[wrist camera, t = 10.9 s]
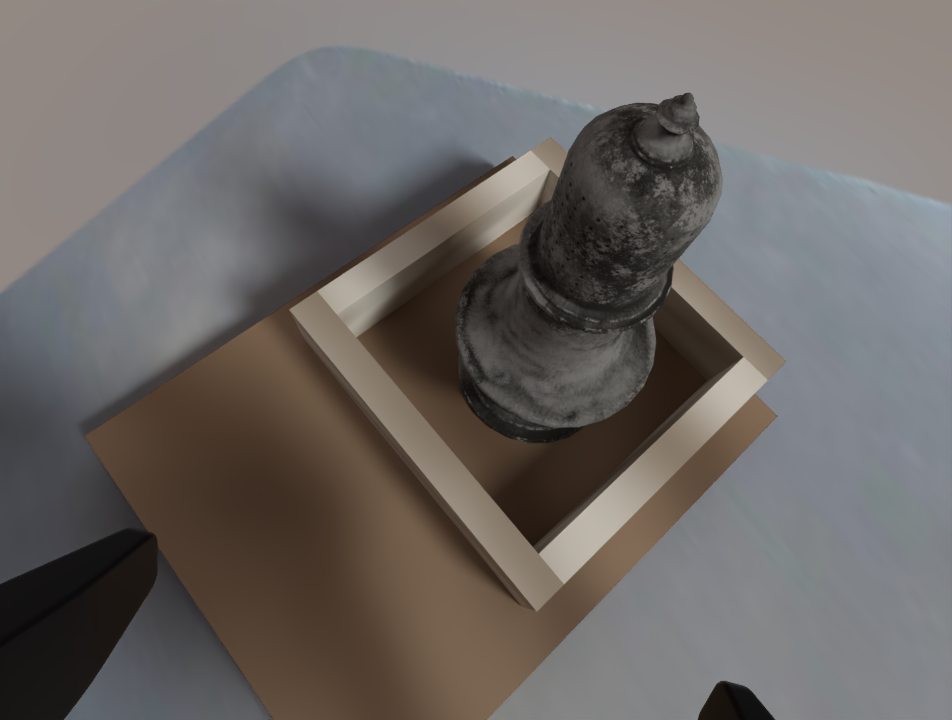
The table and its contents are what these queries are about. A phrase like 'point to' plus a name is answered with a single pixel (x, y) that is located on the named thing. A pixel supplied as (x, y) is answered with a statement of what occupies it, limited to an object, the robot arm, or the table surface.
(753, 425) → the board
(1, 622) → the robot arm
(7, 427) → the table surface
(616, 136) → the salt shaker
